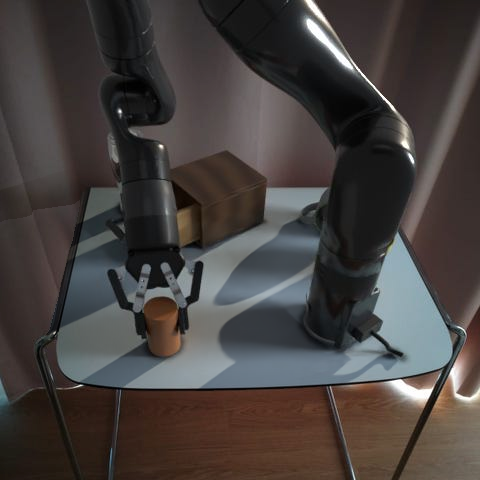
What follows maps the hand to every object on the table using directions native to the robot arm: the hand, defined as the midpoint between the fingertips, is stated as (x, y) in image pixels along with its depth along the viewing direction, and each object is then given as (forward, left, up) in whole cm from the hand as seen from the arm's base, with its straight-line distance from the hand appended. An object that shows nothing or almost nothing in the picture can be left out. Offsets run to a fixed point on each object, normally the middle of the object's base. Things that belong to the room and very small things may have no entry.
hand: (163, 335), depth 71 cm
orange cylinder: (+2, -1, -4) cm, 5 cm away
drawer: (+24, -14, -3) cm, 27 cm away
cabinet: (+24, -26, -4) cm, 35 cm away
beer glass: (+36, -15, -4) cm, 39 cm away
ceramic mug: (+10, -43, -4) cm, 44 cm away
